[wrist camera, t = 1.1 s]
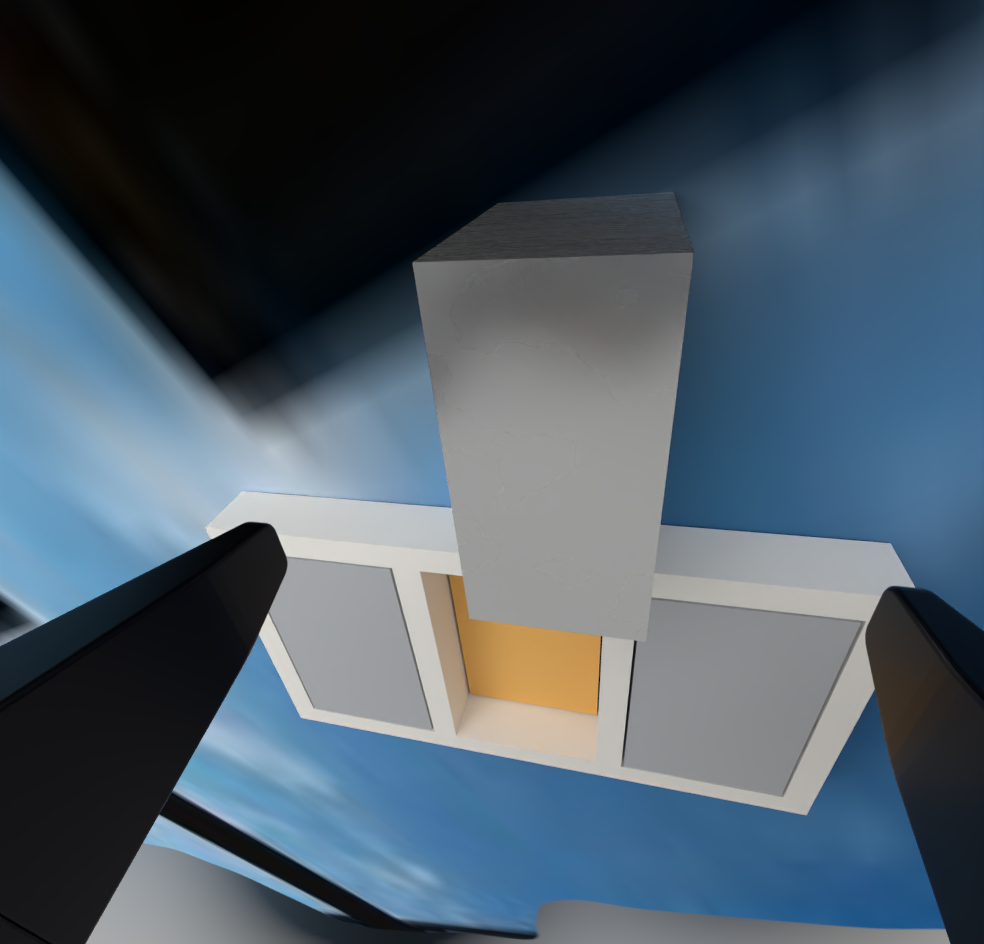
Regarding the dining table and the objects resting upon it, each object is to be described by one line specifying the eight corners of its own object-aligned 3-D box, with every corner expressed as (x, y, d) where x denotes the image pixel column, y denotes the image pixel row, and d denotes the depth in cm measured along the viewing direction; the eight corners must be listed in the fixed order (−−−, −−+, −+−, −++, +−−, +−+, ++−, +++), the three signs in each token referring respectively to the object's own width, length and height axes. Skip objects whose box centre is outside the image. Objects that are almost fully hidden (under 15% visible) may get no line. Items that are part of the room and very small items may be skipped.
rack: (890, 543, 15) (923, 600, 14) (791, 761, 22) (804, 818, 20) (242, 490, 20) (204, 527, 19) (324, 681, 27) (303, 721, 26)
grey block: (673, 191, 12) (693, 252, 7) (644, 483, 16) (645, 642, 11) (499, 202, 13) (412, 262, 8) (517, 475, 17) (469, 618, 12)
